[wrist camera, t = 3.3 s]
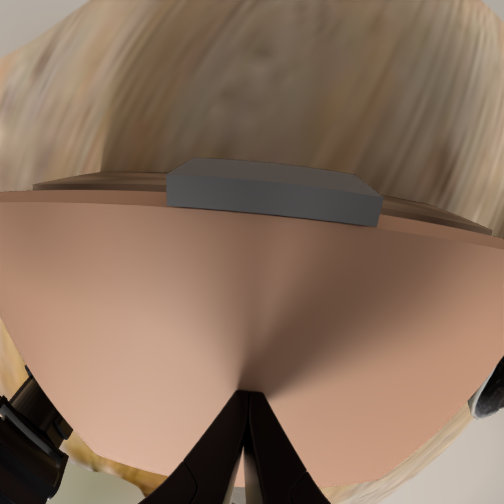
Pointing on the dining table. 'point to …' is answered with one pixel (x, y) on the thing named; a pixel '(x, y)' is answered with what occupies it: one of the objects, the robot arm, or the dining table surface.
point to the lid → (249, 313)
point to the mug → (489, 394)
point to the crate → (158, 184)
